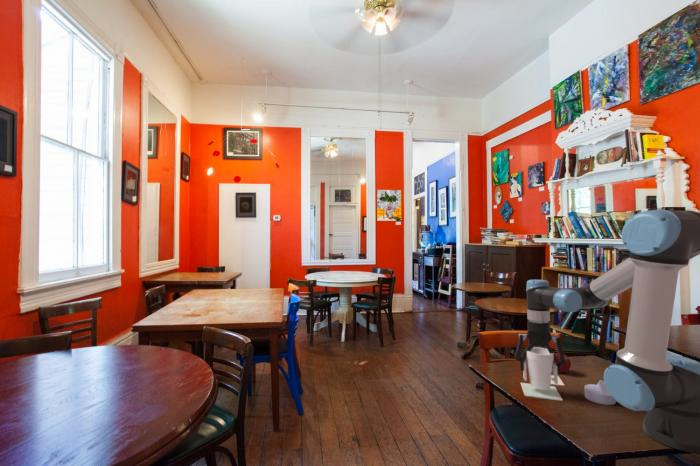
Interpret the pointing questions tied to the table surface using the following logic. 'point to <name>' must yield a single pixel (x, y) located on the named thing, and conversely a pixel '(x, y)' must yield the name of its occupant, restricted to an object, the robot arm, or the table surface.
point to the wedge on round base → (599, 393)
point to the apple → (563, 367)
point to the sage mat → (541, 392)
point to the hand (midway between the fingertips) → (540, 380)
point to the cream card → (558, 381)
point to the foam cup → (540, 367)
